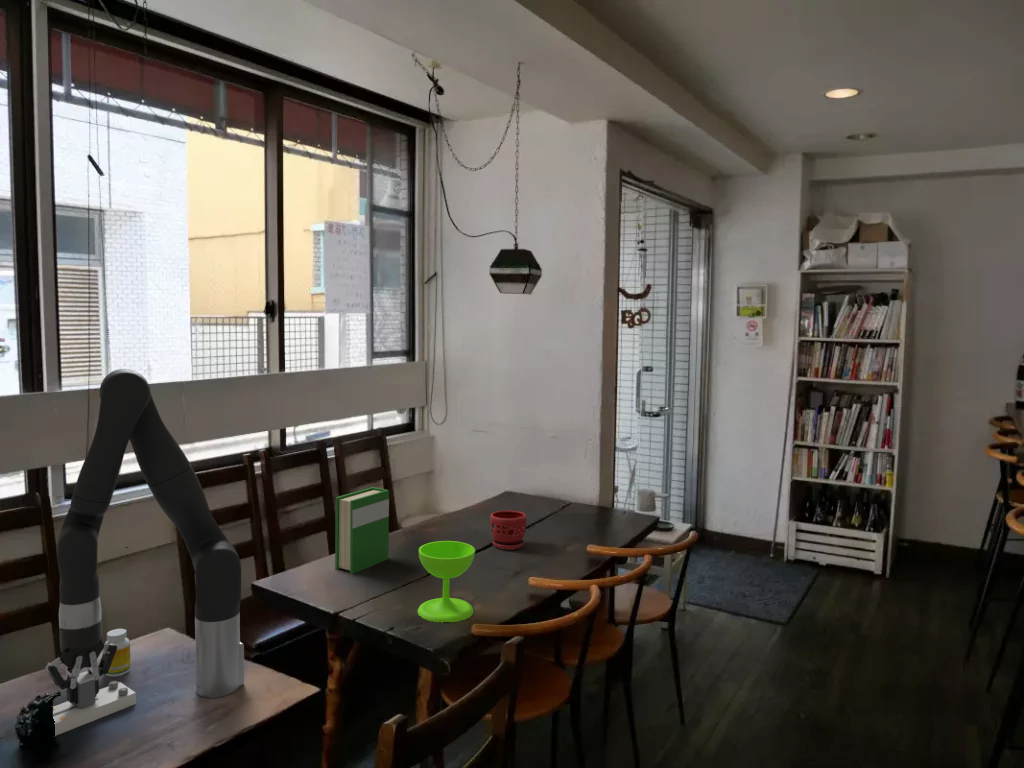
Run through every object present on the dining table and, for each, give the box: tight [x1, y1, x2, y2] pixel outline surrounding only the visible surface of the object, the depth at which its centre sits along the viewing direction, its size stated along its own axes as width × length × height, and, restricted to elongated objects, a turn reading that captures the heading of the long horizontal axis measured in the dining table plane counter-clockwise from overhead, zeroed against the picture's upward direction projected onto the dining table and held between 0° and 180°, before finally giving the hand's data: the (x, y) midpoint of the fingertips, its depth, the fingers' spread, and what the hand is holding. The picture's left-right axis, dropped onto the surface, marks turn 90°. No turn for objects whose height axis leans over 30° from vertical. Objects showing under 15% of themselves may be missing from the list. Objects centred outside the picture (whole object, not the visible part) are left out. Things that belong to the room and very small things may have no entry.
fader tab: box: [76, 670, 95, 709], centre depth 155 cm, size 3×4×6 cm
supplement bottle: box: [104, 628, 131, 678], centre depth 173 cm, size 5×5×10 cm
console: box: [52, 680, 137, 737], centre depth 156 cm, size 16×7×4 cm, turn 142°
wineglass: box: [417, 540, 476, 624], centre depth 213 cm, size 16×16×18 cm
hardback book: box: [334, 486, 390, 575], centre depth 249 cm, size 18×7×24 cm, turn 149°
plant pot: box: [489, 510, 527, 551], centre depth 273 cm, size 13×13×12 cm
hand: (83, 699), depth 155 cm, fingers closed on fader tab, 3 cm apart
